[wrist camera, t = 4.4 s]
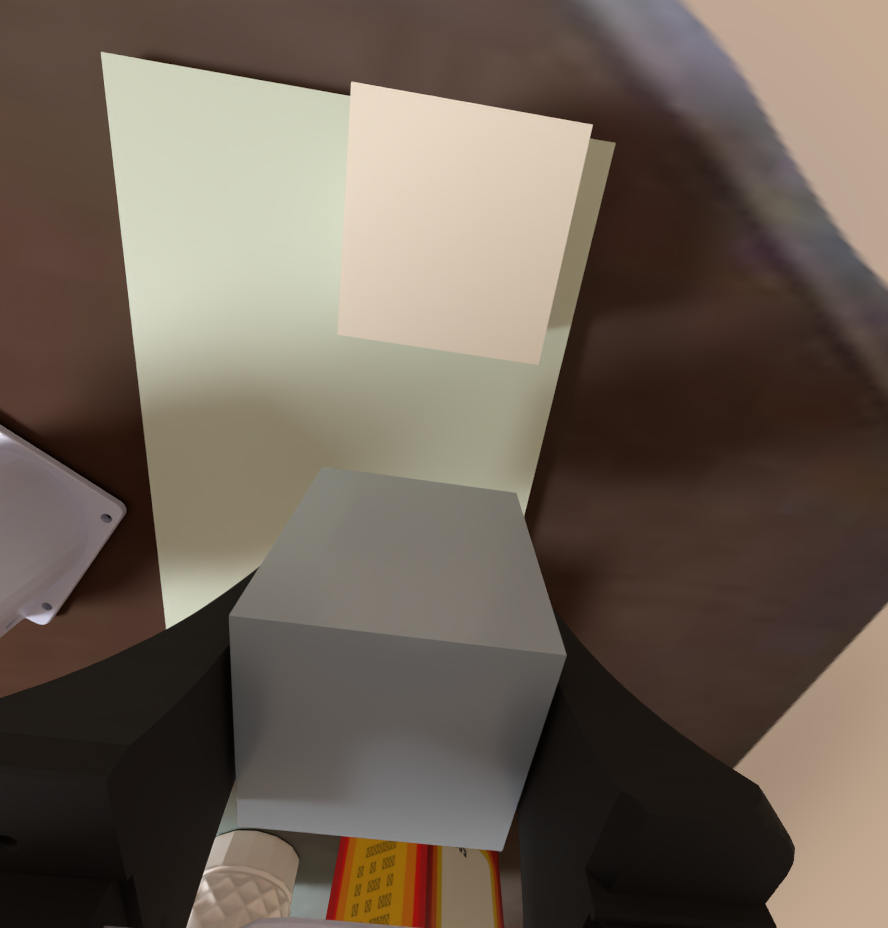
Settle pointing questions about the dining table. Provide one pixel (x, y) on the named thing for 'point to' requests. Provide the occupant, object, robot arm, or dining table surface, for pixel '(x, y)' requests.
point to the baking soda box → (415, 885)
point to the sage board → (286, 325)
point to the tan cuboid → (455, 222)
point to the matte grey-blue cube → (393, 664)
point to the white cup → (245, 881)
